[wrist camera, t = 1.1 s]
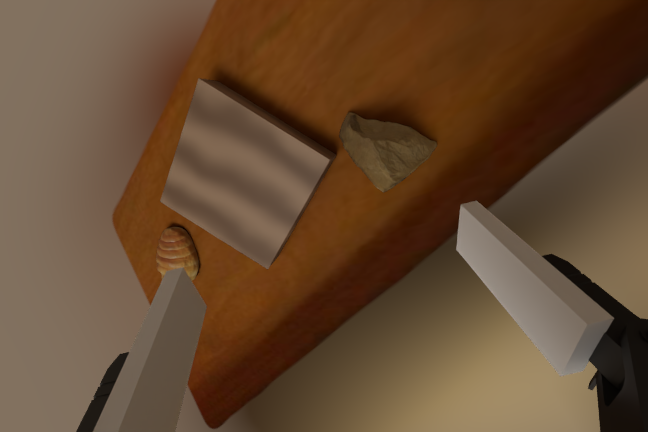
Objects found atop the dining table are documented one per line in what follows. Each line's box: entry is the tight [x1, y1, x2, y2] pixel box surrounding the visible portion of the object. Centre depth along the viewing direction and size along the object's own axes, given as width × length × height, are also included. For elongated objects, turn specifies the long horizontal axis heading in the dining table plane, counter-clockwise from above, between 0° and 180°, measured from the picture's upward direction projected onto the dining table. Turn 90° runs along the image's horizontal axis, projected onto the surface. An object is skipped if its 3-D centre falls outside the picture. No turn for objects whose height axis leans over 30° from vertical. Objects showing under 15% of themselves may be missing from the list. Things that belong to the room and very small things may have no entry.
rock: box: [339, 113, 437, 192], centre depth 32 cm, size 11×9×10 cm
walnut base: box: [160, 79, 336, 269], centre depth 39 cm, size 18×18×4 cm
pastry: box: [156, 227, 199, 281], centre depth 47 cm, size 9×7×4 cm
